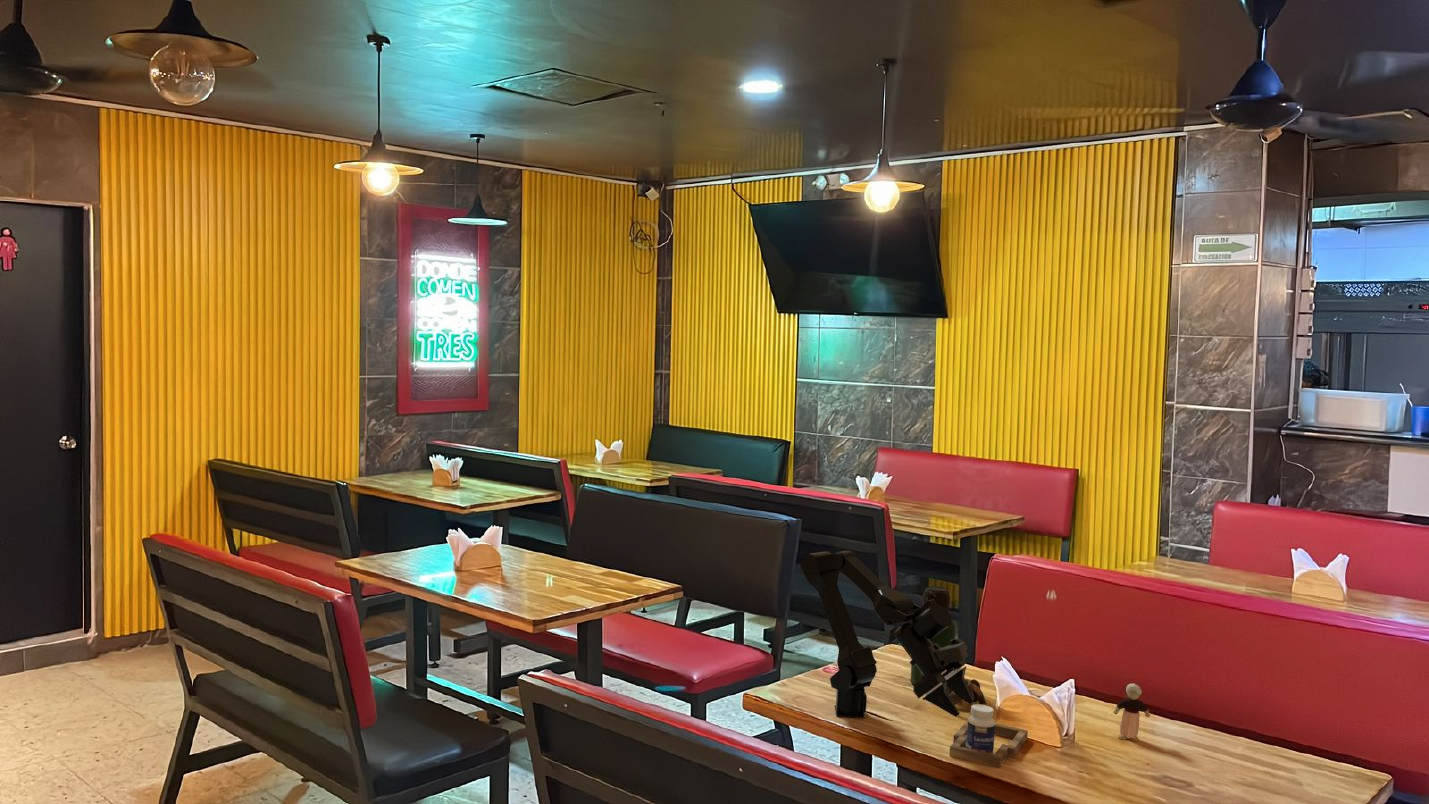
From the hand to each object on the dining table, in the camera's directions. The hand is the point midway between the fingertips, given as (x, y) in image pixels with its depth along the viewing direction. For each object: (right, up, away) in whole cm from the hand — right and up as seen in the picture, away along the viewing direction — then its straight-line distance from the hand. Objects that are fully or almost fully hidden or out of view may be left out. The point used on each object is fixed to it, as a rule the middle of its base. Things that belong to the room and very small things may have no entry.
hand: (964, 709), depth 229 cm
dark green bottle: (+2, -6, +43) cm, 44 cm away
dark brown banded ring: (+7, -8, +27) cm, 29 cm away
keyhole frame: (+5, -9, +3) cm, 11 cm away
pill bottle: (+3, -9, -1) cm, 10 cm away
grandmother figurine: (+40, -10, +12) cm, 43 cm away
